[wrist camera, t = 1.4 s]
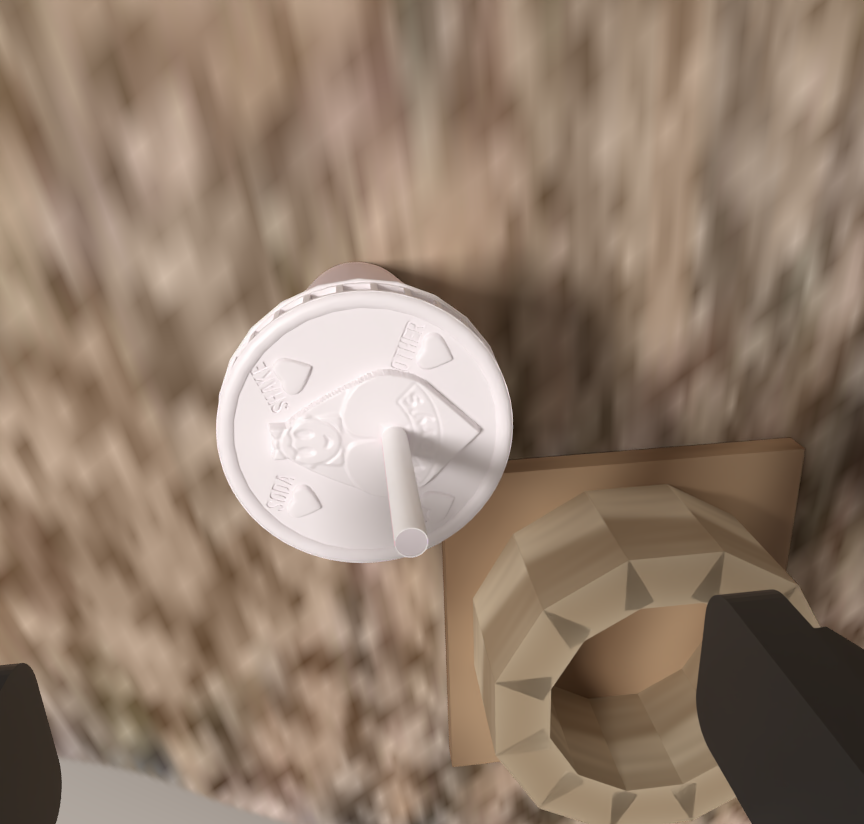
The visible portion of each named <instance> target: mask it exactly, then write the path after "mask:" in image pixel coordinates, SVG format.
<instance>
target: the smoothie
mask: <svg viewBox="0 0 864 824" xmlns="http://www.w3.org/2000/svg"><path fill="white" fill-rule="evenodd" d="M512 433H513V414H512V406H511V400H510V396H509V392H508V388H507V385H506V382H505V380H504V377H503V374H502V372H501V370H500V367H499V365H498V363H497V360H496V358H495V356H494V353H493V351H492V349H491V346H490V345H489V344H488V342H487V341H486V340H485V339H484V338H483V336H482V335H481V334H480V333H479V331H478V330H477V329H476V328H475V326H474V325H473V324H472V323H471V322H470V320H469V319H468V318H467V317H466V316H465V315H463V314H462V313H460V312H459V311H457V310H456V309H455V308H453V307H452V306H450V305H449V304H447V303H446V302H445V301H443V300H442V299H440V298H439V297H438V296H436V295H434V294H431V293H429V292H426V291H423V290H420V289H417V288H415V287H412V286H409V285H406V284H404V283H403V282H401V281H400V280H399V279H398V278H397V277H395V276H394V275H393V274H392V273H390V272H389V271H387V270H385V269H384V268H382V267H379V266H377V265H374V264H370V263H364V262H350V263H344V264H340V265H337V266H335V267H332V268H330V269H328V270H327V271H325V272H324V273H322V274H321V275H320V276H319V277H317V278H316V279H315V280H314V282H313V283H312V284H311V285H310V286H309V287H308V288H307V289H306V290H305V291H304V292H302V293H300V294H298V295H296V296H293V297H291V298H289V299H287V300H285V301H283V302H281V303H280V304H279V305H277V306H276V307H275V308H274V309H273V310H272V311H270V312H269V313H268V314H267V315H266V316H264V317H263V318H262V319H261V320H260V321H259V322H257V323H256V324H255V325H254V326H253V327H251V329H250V330H249V332H248V333H247V335H246V336H245V338H244V339H243V341H242V342H241V344H240V345H239V347H238V348H237V350H236V351H235V353H234V354H233V356H232V357H231V359H230V361H229V365H228V368H227V371H226V374H225V377H224V381H223V384H222V387H221V390H220V393H219V404H218V411H217V420H216V436H217V447H218V452H219V457H220V461H221V464H222V468H223V471H224V474H225V476H226V478H227V481H228V483H229V485H230V487H231V489H232V490H233V492H234V494H235V496H236V497H237V499H238V500H239V502H240V503H241V504H242V506H243V507H244V508H245V510H246V511H247V512H248V513H249V514H250V515H251V517H252V518H254V519H255V520H256V521H257V522H258V523H259V524H260V525H261V526H262V527H263V528H264V529H266V530H267V531H268V532H269V533H271V534H272V535H274V536H275V537H277V538H278V539H280V540H281V541H283V542H285V543H286V544H288V545H290V546H292V547H294V548H296V549H299V550H301V551H303V552H306V553H308V554H311V555H315V556H318V557H321V558H325V559H330V560H335V561H342V562H353V563H372V562H382V561H390V560H394V559H399V558H403V557H416V556H419V555H421V554H422V553H423V552H424V551H425V550H427V549H429V548H431V547H433V546H435V545H437V544H439V543H441V542H442V541H444V540H445V539H447V538H449V537H450V536H452V535H453V534H455V533H456V532H457V531H459V530H460V529H461V528H463V527H464V526H465V525H466V524H467V523H468V522H469V521H470V520H472V518H473V517H474V516H475V515H476V514H477V513H478V512H479V511H480V510H481V509H482V507H483V506H484V505H485V504H486V502H487V501H488V500H489V498H490V497H491V495H492V494H493V492H494V490H495V489H496V487H497V485H498V483H499V481H500V479H501V477H502V475H503V472H504V470H505V467H506V464H507V461H508V457H509V454H510V449H511V443H512Z"/></svg>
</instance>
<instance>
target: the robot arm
mask: <svg viewBox="0 0 864 824" xmlns="http://www.w3.org/2000/svg"><path fill="white" fill-rule="evenodd" d="M696 708H697V715H698V720H699V725H700V728H701V732H702V734H703V737H704V740H705V742H706V744H707V746H708V748H709V750H710V752H711V754H712V756H713V757H714V759H715V761H716V762H717V764H718V766H719V768H720V769H721V771H722V773H723V775H724V776H725V778H726V780H727V782H728V783H729V785H730V787H731V788H732V790H733V792H734V794H735V795H736V797H737V799H738V801H739V802H740V804H741V806H742V807H743V809H744V811H745V813H746V814H747V816H748V818H749V820H750V821H751V823H752V824H864V649H862V648H861V647H859V646H857V645H856V644H854V643H852V642H851V641H849V640H847V639H846V638H844V637H842V636H841V635H839V634H837V633H836V632H834V631H833V630H831V629H829V628H828V627H821V628H813V627H812V625H811V624H810V623H809V622H808V621H807V620H806V619H805V618H804V617H803V616H802V614H801V613H800V612H799V611H798V610H797V609H796V608H795V607H794V606H793V605H792V603H791V602H790V601H789V600H788V599H787V598H786V597H785V596H784V595H783V594H782V593H781V592H779V591H777V590H774V589H770V590H760V591H750V592H740V593H730V594H721V595H714V596H712V597H711V598H710V600H709V602H708V604H707V607H706V613H705V621H704V630H703V638H702V647H701V655H700V664H699V672H698V681H697V689H696ZM61 789H62V780H61V769H60V763H59V759H58V756H57V752H56V748H55V745H54V741H53V738H52V734H51V730H50V727H49V723H48V720H47V716H46V712H45V709H44V705H43V702H42V698H41V694H40V691H39V687H38V684H37V680H36V677H35V674H34V672H33V670H32V669H31V667H30V666H29V665H27V664H25V663H19V664H9V665H0V824H55V823H56V821H57V816H58V813H59V808H60V800H61Z"/></svg>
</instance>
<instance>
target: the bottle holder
mask: <svg viewBox="0 0 864 824" xmlns="http://www.w3.org/2000/svg"><path fill="white" fill-rule="evenodd" d="M804 454H805V448H804V447H802V446H801V445H800V444H798V443H797V442H796V441H794V440H793V439H792V438H779V439H766V440H754V441H741V442H729V443H716V444H704V445H691V446H679V447H666V448H654V449H641V450H629V451H616V452H604V453H591V454H579V455H566V456H554V457H541V458H529V459H516V460H508V461H507V464H506V467H505V470H504V472H503V475H502V477H501V479H500V481H499V483H498V485H497V487H496V489H495V490H494V492H493V494H492V495H491V497H490V498H489V500H488V501H487V502H486V504H485V505H484V506H483V507H482V509H481V510H480V511H479V512H478V513H477V514H476V515H475V516H474V517H473V518H472V520H470V521H469V522H468V523H467V524H466V525H465V526H464V527H463V528H461V529H460V530H459V531H457V532H456V533H455V534H453V535H452V536H450V537H449V538H447V539H445V540H444V541H442V554H443V582H444V611H445V639H446V667H447V695H448V724H449V749H450V755H451V761H452V767H457V766H466V765H475V764H484V763H492V762H501V763H502V764H503V765H504V766H505V767H506V769H507V770H508V771H509V772H510V774H511V775H512V776H513V777H514V778H515V780H516V781H517V782H518V783H519V784H520V786H521V787H522V788H523V789H524V791H525V792H526V793H527V794H528V795H529V797H530V798H531V799H532V800H533V801H534V803H535V804H536V805H537V806H538V808H540V809H543V810H546V811H549V812H553V813H556V814H559V815H562V816H565V817H568V818H571V819H575V820H578V821H581V822H584V823H587V824H670V823H678V822H686V821H692V820H694V819H696V818H698V817H700V816H702V815H704V814H706V813H707V812H709V811H711V810H713V809H715V808H717V807H719V806H721V805H722V804H724V803H726V802H728V801H730V800H732V799H734V798H735V797H736V795H735V794H734V792H733V790H732V788H731V787H730V785H729V783H728V782H727V780H726V778H725V776H724V775H723V773H722V771H721V769H720V768H719V766H718V764H717V762H716V761H715V759H714V757H713V756H712V754H711V752H710V750H709V748H708V746H707V744H706V742H705V740H704V737H703V734H702V732H701V728H700V725H699V720H698V715H697V708H696V689H697V681H698V672H699V664H700V655H701V647H702V638H703V630H704V621H705V613H706V607H707V604H708V602H709V600H710V598H711V597H712V596H714V595H721V594H730V593H740V592H750V591H760V590H770V589H774V590H777V591H779V592H781V593H782V594H783V595H784V596H785V597H786V598H787V599H788V600H789V601H790V602H791V603H792V605H793V606H794V607H795V608H796V609H797V610H798V611H799V612H800V613H801V614H802V616H803V617H804V618H805V619H806V620H807V621H808V622H809V623H810V624H811V625H812V627H813V628H821V627H820V625H819V623H818V621H817V620H816V618H815V616H814V614H813V612H812V610H811V608H810V606H809V604H808V602H807V600H806V598H805V596H804V595H803V593H802V591H801V589H800V587H799V585H798V584H797V583H796V582H795V581H794V580H793V578H792V577H791V576H790V575H789V574H788V573H787V572H786V569H787V563H788V557H789V550H790V544H791V537H792V531H793V524H794V518H795V512H796V505H797V499H798V492H799V486H800V480H801V473H802V467H803V460H804Z"/></svg>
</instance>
